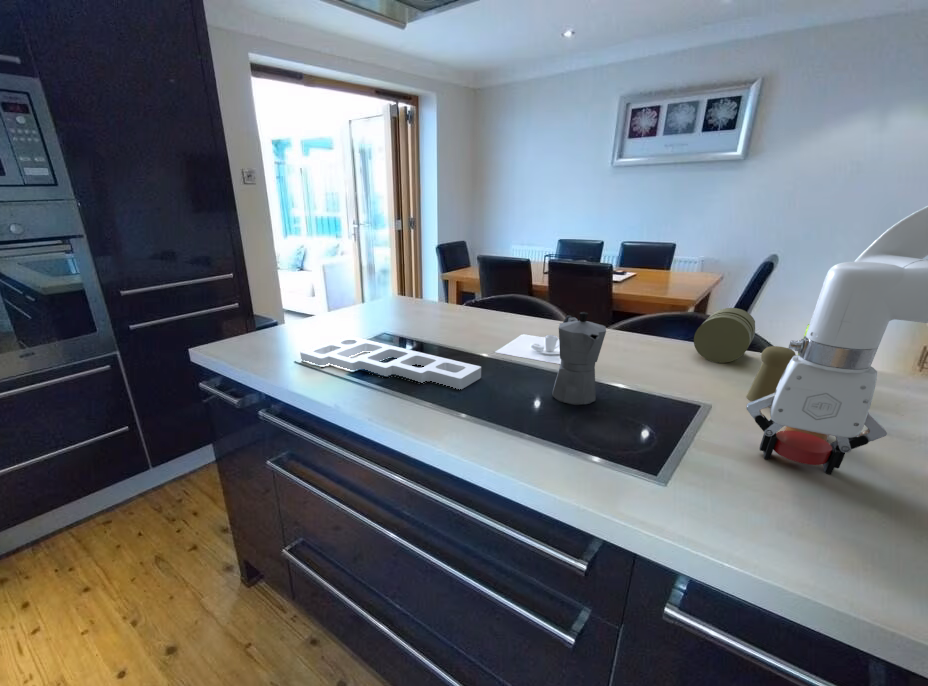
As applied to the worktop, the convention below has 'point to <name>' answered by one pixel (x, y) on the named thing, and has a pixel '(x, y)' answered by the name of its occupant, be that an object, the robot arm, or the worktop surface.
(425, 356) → the holder
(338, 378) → the worktop surface
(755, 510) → the worktop surface
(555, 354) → the teacup and saucer
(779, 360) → the cork
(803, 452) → the jam lid
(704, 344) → the piston
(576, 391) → the coffeepot
